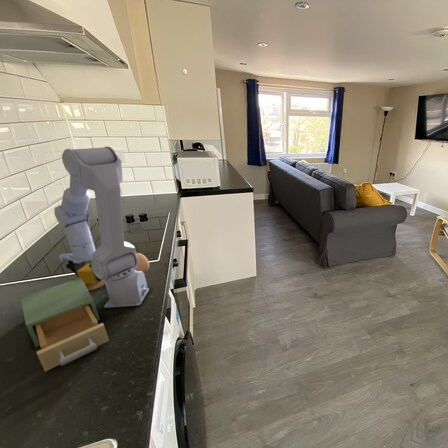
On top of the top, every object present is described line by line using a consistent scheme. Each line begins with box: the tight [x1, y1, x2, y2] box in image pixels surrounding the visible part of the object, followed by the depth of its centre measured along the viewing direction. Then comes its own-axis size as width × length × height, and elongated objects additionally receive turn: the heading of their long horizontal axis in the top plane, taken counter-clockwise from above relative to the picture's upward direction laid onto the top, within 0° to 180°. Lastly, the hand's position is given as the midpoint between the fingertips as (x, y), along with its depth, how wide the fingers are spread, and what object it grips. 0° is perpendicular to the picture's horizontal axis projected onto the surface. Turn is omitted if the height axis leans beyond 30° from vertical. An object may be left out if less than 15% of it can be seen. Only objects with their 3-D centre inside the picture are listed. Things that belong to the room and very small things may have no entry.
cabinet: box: [19, 278, 101, 348], centre depth 69 cm, size 15×13×7 cm
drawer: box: [35, 305, 110, 372], centre depth 61 cm, size 18×11×5 cm, turn 48°
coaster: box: [84, 280, 106, 292], centre depth 85 cm, size 9×9×1 cm
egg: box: [135, 252, 150, 275], centre depth 89 cm, size 7×7×8 cm
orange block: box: [77, 263, 98, 284], centre depth 84 cm, size 5×5×5 cm
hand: (92, 279), depth 85 cm, fingers closed on orange block, 4 cm apart
